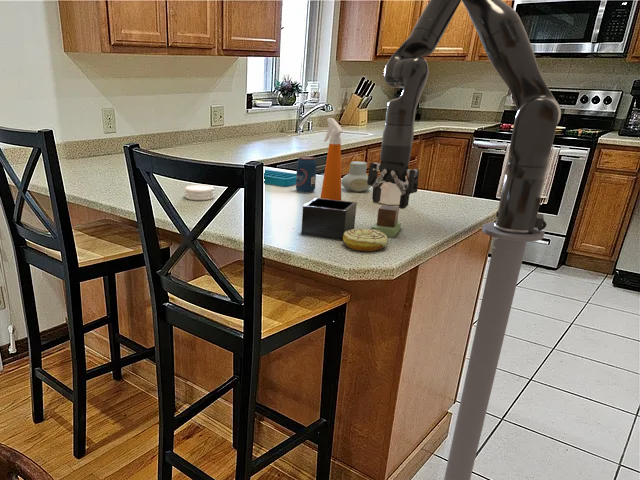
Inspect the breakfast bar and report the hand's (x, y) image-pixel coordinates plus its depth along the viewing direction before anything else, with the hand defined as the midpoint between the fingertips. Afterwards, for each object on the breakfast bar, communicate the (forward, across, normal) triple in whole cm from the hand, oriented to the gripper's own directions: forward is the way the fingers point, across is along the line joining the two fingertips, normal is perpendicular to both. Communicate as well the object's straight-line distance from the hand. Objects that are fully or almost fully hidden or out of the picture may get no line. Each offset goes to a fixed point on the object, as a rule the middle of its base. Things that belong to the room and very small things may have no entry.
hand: (389, 205), depth 140 cm
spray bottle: (+8, +34, -14) cm, 38 cm away
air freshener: (+8, +40, -34) cm, 53 cm away
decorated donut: (+8, -5, +15) cm, 17 cm away
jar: (+8, +20, -29) cm, 36 cm away
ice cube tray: (+8, +70, -21) cm, 73 cm away
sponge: (+7, 0, 0) cm, 7 cm away
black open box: (+7, +9, +13) cm, 18 cm away
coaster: (+8, +65, +17) cm, 67 cm away
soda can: (+8, +50, -18) cm, 54 cm away
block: (+5, 0, 0) cm, 5 cm away
